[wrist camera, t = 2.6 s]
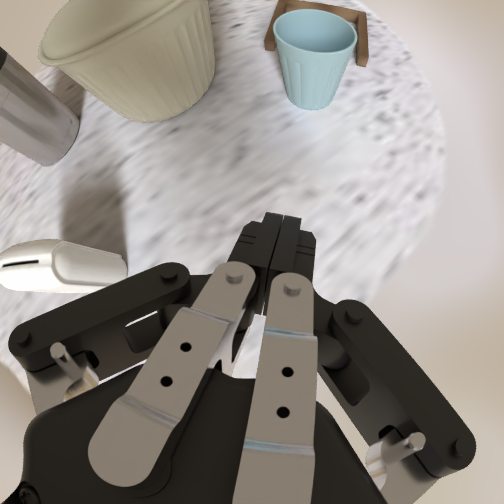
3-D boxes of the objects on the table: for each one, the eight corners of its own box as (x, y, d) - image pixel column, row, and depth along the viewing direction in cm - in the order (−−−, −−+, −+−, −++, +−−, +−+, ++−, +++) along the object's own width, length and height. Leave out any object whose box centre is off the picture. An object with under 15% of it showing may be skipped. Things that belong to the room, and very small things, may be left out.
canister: (214, 30, 33) (179, -81, 12) (257, 109, 30) (227, -58, 9) (105, 79, 34) (33, -7, 13) (116, 170, 31) (-10, 74, 10)
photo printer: (63, 294, 29) (-14, 290, 17) (62, 259, 30) (-13, 244, 18) (129, 291, 28) (48, 288, 16) (128, 251, 29) (49, 229, 17)
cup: (272, 73, 30) (267, 10, 20) (332, 70, 30) (343, 9, 19) (282, 120, 29) (280, 55, 19) (348, 116, 29) (368, 54, 18)
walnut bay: (265, 50, 31) (264, 40, 29) (279, 7, 32) (279, -2, 30) (365, 67, 29) (368, 57, 27) (363, 21, 31) (366, 12, 29)
